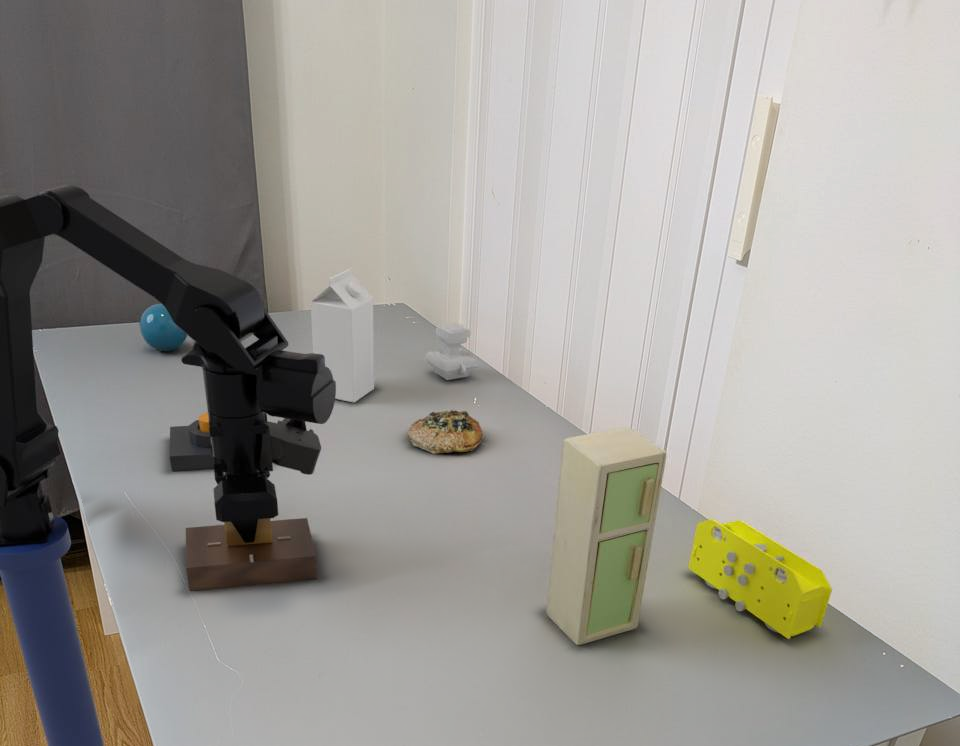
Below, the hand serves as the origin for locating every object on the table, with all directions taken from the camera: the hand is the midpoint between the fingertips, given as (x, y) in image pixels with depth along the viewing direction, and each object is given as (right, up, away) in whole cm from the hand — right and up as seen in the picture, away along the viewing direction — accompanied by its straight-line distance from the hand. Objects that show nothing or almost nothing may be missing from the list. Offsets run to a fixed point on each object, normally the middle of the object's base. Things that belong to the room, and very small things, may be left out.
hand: (249, 537), depth 107 cm
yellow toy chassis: (+57, -8, 0) cm, 57 cm away
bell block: (-11, +14, +26) cm, 31 cm away
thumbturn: (0, 0, 0) cm, 0 cm away
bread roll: (+21, +17, +33) cm, 43 cm away
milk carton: (+4, +27, +47) cm, 54 cm away
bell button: (-11, +17, +24) cm, 31 cm away
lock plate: (0, -3, +2) cm, 4 cm away
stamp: (+21, +32, +55) cm, 67 cm away
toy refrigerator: (+38, -10, -5) cm, 40 cm away
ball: (-29, +37, +59) cm, 76 cm away
